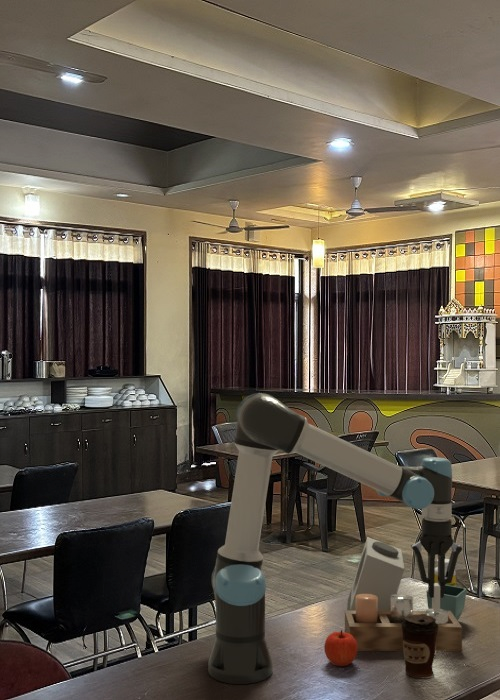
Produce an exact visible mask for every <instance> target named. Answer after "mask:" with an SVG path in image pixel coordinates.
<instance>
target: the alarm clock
mask: <svg viewBox="0 0 500 700" xmlns="http://www.w3.org/2000/svg"><path fill="white" fill-rule="evenodd" d="M404 572H405V564H404V559H403V552H402V549H401V548H398V547H395V546H393V545H390V544H388V543H385V542H383V541H380V540H377V539H374V538H372V537H369V536H367V537H366V540H365V542H364V546H363V549H362V553H361V555H360V559H359V562H358V565H357V569H356V573H355V575H354V580H353V581H352V586H351V588H350V592H349V595H348V599H347V606H346V607H347V609H346V610H351V611H356V595H359V594H372V595H375V596H377V597H378V611H391V595H394V594H398V590H399V588H400V585H401V581H402V578H403V574H404Z"/></svg>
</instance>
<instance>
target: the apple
mask: <svg viewBox="0 0 500 700" xmlns="http://www.w3.org/2000/svg"><path fill="white" fill-rule="evenodd" d="M323 647H324V654H325V656H326V658H327V659H328V661H329V662H330V663H331V664H332V665H334V666H336V667H346V666H348V665H350V664H352V663H353V661H354V660H355V658H356V657H357V654H358V651H359V650H358V646H357V642H356V640H355V639H354V637H353V636H352V635H351V634H349V633H345V631H343V630H342V629H341V630H340V631H334V632H332V633H330V634H329V635H328V636H327V637H326V639H325V642H324V646H323Z"/></svg>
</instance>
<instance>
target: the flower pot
mask: <svg viewBox="0 0 500 700" xmlns="http://www.w3.org/2000/svg"><path fill="white" fill-rule="evenodd" d="M466 598H467V587H466V588H465V587H460V586H456V587H455V586H449V585H445V586H444V597H443V598H440V609H443V610H446V611H451V612H452V614H453V615H454V617H455V618H456V619H457V621H458V622H459V619H460V617H461V616H462V614H463V611H464V610H465V609H464V608H465V604H466V603H465V602H466ZM426 601H427V609H430V608H432V598H430V597H429V595H428V589H427V590H426Z"/></svg>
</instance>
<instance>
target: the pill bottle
mask: <svg viewBox="0 0 500 700" xmlns="http://www.w3.org/2000/svg"><path fill="white" fill-rule="evenodd" d="M449 559H450V558H446V557H445V575H446V571H447V567H448V563H449ZM436 566H437V567H435V583H438V558H437V559H436ZM456 576H457V572H456V569H455V570H454V574H453V578H452V582H451V583H447V584H445V585H449V586H455V587H457V585H456V584H457V583H456V582H457V581H456V580H457V579H456V578H457V577H456Z"/></svg>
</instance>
